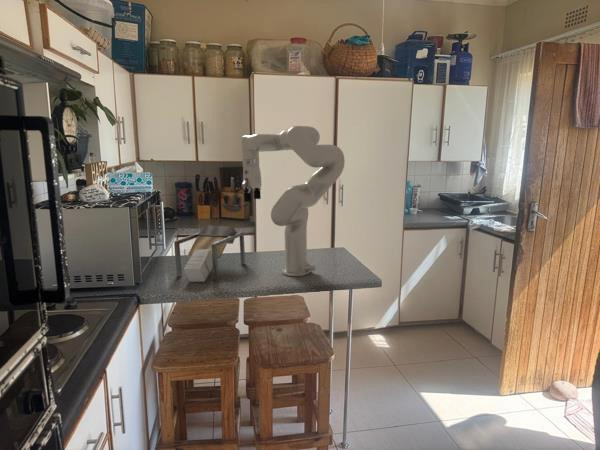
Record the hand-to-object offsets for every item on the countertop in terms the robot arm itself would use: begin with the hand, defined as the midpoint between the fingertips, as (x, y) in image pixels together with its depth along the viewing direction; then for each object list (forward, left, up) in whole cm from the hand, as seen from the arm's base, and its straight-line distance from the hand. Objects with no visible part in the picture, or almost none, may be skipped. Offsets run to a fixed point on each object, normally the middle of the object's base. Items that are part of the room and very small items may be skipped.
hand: (252, 200), depth 183 cm
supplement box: (+13, +22, -21) cm, 33 cm away
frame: (+14, +15, -30) cm, 37 cm away
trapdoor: (+14, +12, -20) cm, 28 cm away
